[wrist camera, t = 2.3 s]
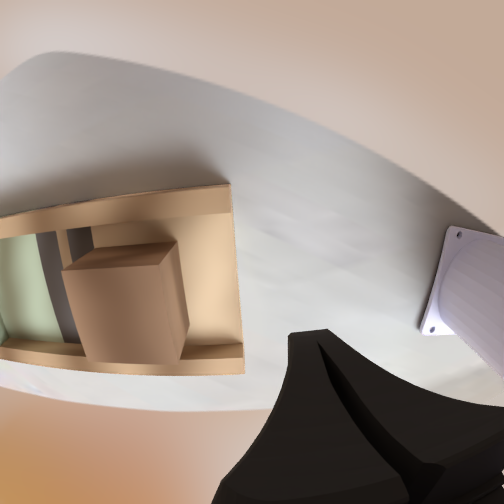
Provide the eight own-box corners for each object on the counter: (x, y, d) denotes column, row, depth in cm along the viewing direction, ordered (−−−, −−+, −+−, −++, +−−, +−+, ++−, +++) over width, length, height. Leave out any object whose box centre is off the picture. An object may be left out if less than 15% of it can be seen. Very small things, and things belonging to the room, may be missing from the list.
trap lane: (230, 183, 16) (228, 187, 14) (244, 350, 19) (244, 373, 17) (-22, 221, 16) (-43, 229, 14) (11, 343, 19) (-4, 358, 17)
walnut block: (177, 241, 16) (158, 264, 12) (189, 324, 17) (178, 364, 14) (95, 247, 16) (61, 270, 12) (113, 325, 17) (88, 361, 14)
